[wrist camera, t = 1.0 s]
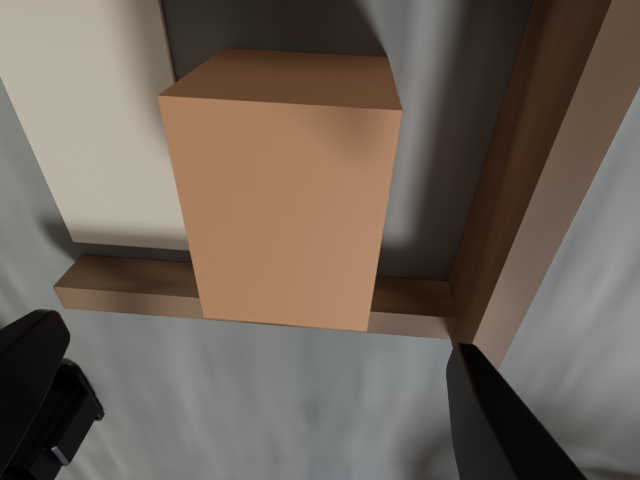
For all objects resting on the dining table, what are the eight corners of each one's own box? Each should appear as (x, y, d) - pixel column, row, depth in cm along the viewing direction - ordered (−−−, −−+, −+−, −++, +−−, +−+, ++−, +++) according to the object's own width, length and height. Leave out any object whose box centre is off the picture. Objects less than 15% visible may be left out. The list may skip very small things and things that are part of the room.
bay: (91, 275, 22) (38, 339, 18) (-73, -103, 12) (-253, -125, 9) (470, 304, 21) (493, 378, 17) (613, -84, 11) (731, -99, 8)
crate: (242, 225, 19) (203, 317, 14) (224, 47, 14) (157, 95, 10) (364, 234, 19) (366, 331, 14) (387, 56, 14) (402, 110, 9)
